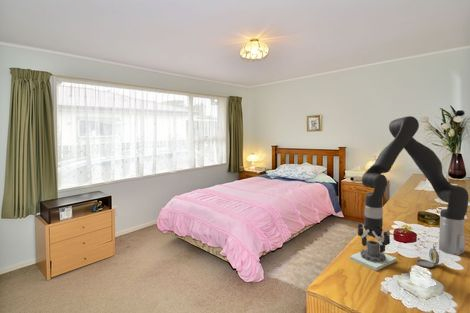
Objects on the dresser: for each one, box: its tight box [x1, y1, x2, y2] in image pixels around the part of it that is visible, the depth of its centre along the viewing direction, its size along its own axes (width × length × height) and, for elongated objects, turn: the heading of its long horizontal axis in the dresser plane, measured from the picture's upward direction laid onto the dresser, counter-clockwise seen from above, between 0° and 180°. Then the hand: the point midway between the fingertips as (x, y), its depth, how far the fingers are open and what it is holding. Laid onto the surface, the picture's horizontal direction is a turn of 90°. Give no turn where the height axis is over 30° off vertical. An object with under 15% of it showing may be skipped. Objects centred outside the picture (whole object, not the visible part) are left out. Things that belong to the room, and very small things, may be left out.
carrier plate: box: [349, 251, 397, 272], centre depth 122 cm, size 13×16×6 cm
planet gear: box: [360, 240, 386, 263], centre depth 122 cm, size 10×10×7 cm
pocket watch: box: [415, 243, 440, 269], centre depth 116 cm, size 8×8×10 cm
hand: (372, 248), depth 122 cm, fingers open, 8 cm apart
